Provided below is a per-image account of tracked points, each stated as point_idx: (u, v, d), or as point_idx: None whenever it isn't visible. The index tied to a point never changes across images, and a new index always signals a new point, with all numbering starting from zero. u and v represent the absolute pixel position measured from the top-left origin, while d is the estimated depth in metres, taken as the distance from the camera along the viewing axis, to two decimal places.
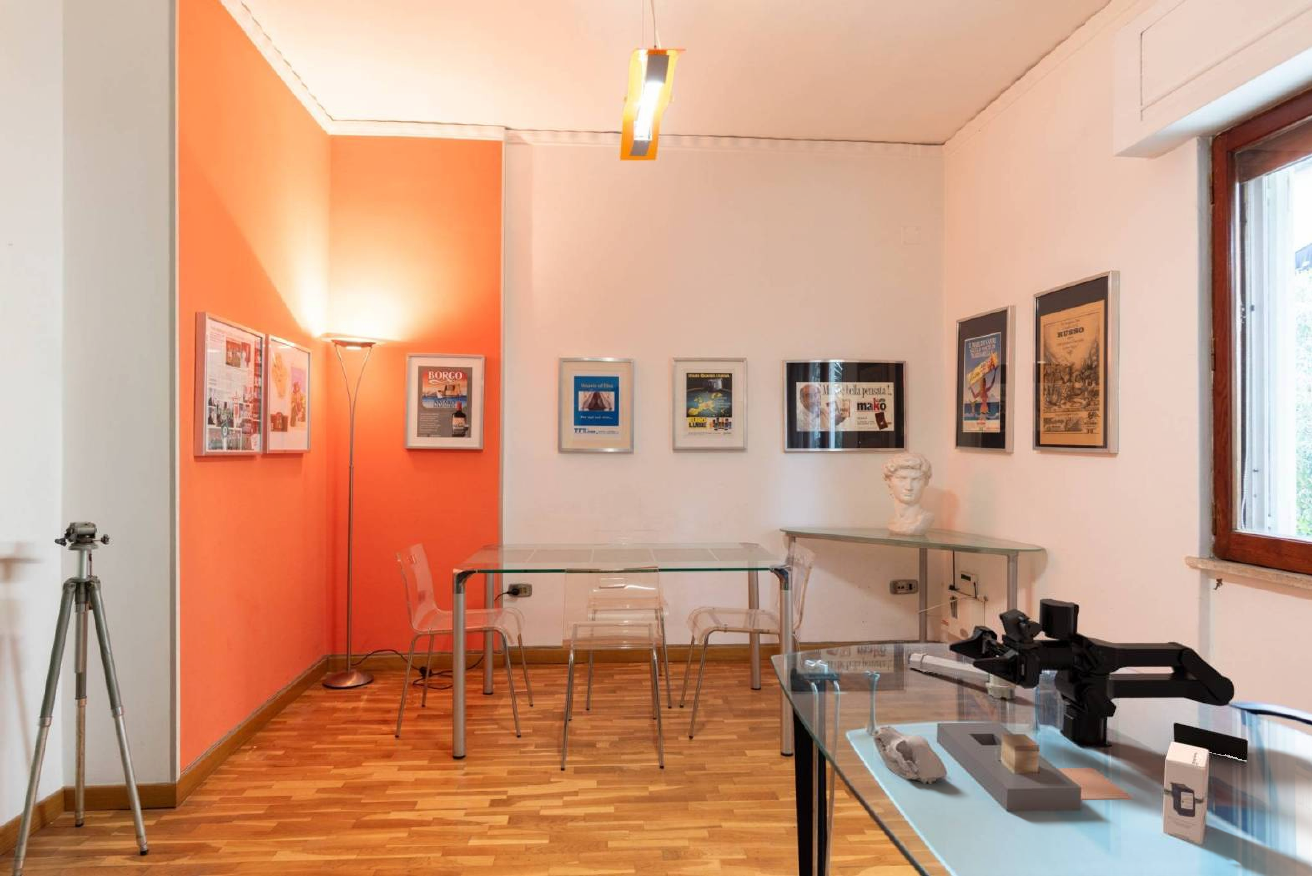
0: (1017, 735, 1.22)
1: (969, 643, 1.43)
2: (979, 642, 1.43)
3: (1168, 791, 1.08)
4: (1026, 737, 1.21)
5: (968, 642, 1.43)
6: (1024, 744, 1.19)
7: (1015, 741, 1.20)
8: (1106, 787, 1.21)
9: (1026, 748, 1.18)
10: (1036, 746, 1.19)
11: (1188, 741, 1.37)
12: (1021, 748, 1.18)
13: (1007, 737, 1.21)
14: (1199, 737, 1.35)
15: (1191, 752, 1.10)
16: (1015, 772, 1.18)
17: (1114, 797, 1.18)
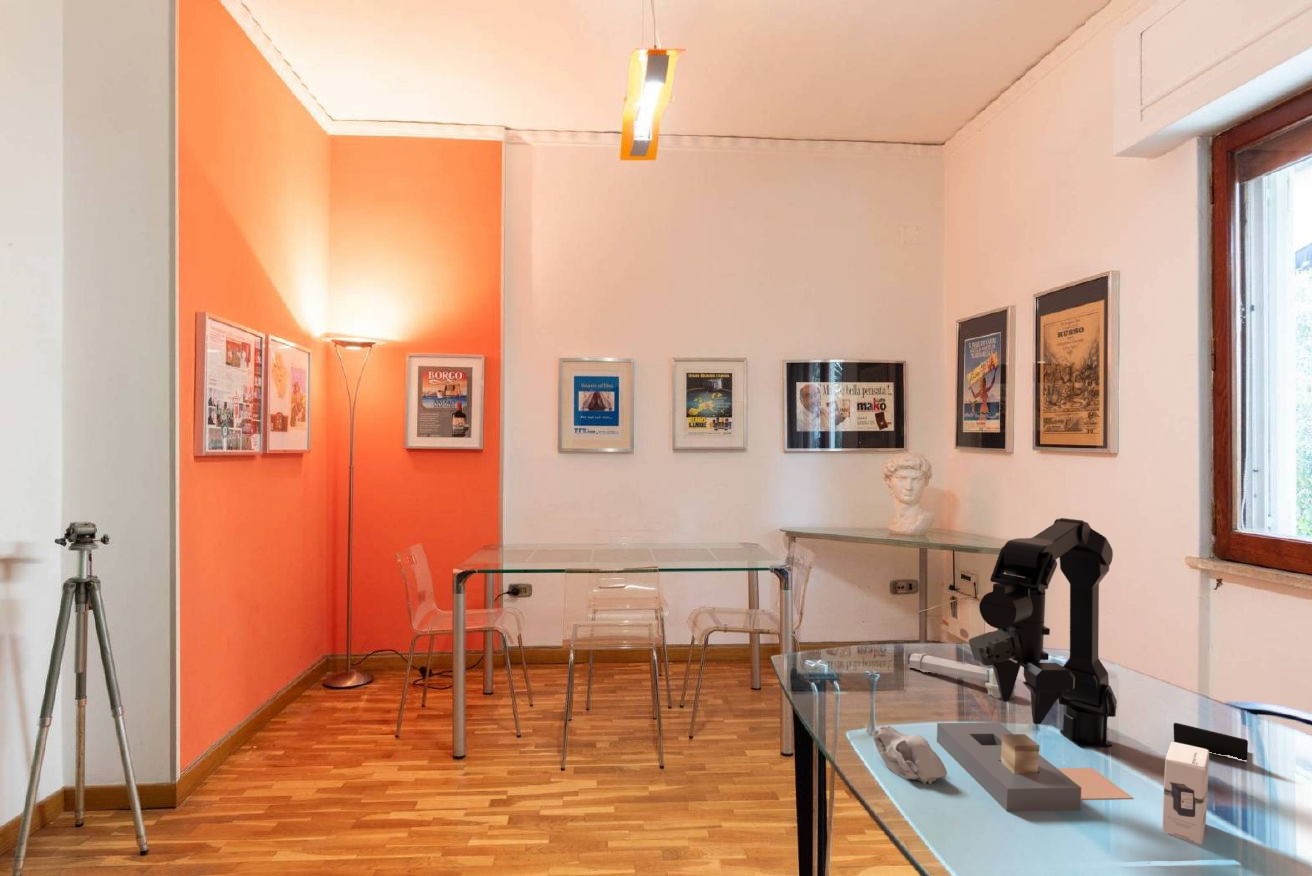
0: (1017, 735, 1.22)
1: (1001, 677, 1.25)
2: (1000, 664, 1.25)
3: (1168, 791, 1.08)
4: (1026, 737, 1.21)
5: (1000, 678, 1.25)
6: (1024, 744, 1.19)
7: (1015, 741, 1.20)
8: (1106, 787, 1.21)
9: (1026, 748, 1.18)
10: (1036, 746, 1.19)
11: (1188, 741, 1.37)
12: (1021, 748, 1.18)
13: (1007, 737, 1.21)
14: (1199, 737, 1.35)
15: (1191, 752, 1.10)
16: (1015, 772, 1.18)
17: (1114, 797, 1.18)
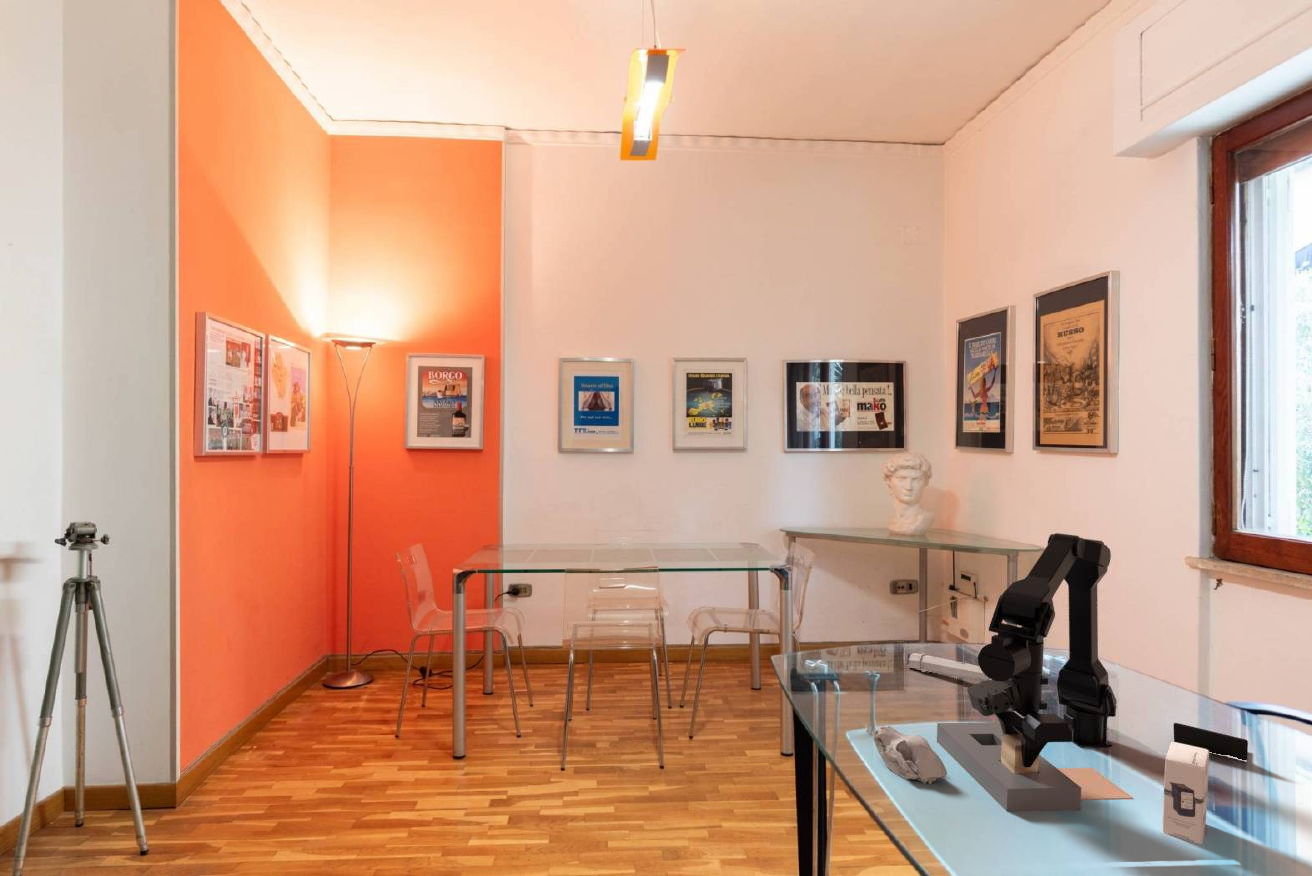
0: (1017, 735, 1.22)
1: (1007, 729, 1.23)
2: (1007, 716, 1.23)
3: (1168, 791, 1.08)
4: None
5: (1007, 731, 1.23)
6: None
7: (1015, 741, 1.20)
8: (1106, 787, 1.21)
9: None
10: None
11: (1188, 741, 1.37)
12: None
13: (1007, 737, 1.21)
14: (1199, 737, 1.35)
15: (1191, 752, 1.10)
16: (1015, 772, 1.18)
17: (1114, 797, 1.18)
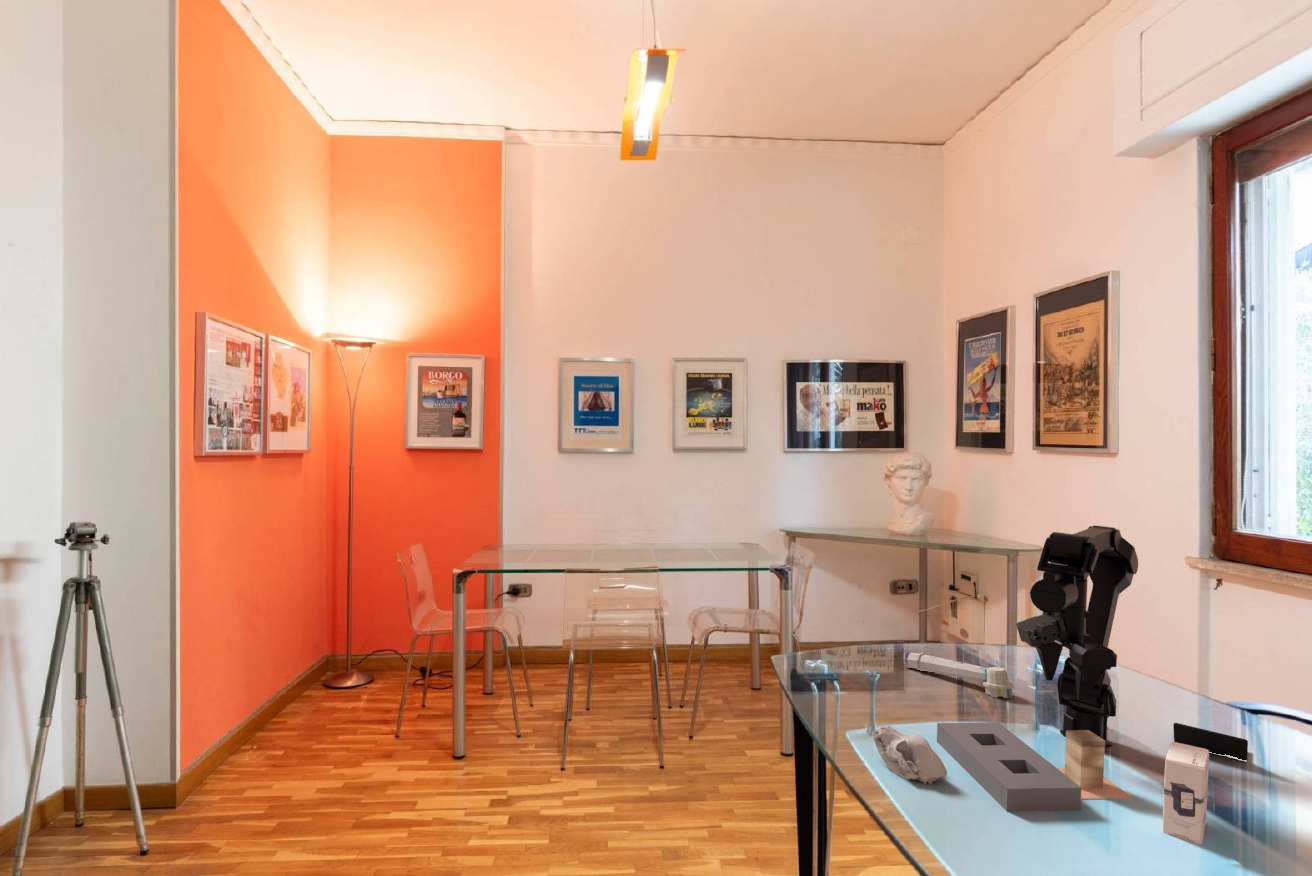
0: (1081, 731, 1.24)
1: (1045, 658, 1.36)
2: (1044, 646, 1.36)
3: (1168, 791, 1.08)
4: (1091, 733, 1.23)
5: (1044, 659, 1.36)
6: (1090, 740, 1.21)
7: (1081, 737, 1.22)
8: (1106, 787, 1.21)
9: (1092, 744, 1.20)
10: (1102, 742, 1.20)
11: (1188, 741, 1.37)
12: (1087, 744, 1.20)
13: (1072, 733, 1.23)
14: (1199, 737, 1.35)
15: (1191, 752, 1.10)
16: (1081, 767, 1.20)
17: (1114, 797, 1.18)
